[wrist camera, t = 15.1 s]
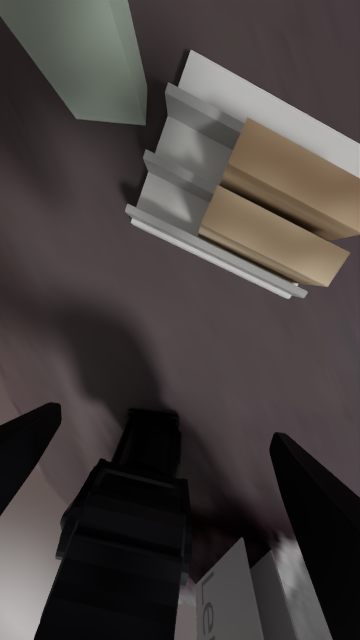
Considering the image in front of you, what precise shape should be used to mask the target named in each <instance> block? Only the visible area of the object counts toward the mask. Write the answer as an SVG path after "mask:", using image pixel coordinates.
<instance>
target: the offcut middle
mask: <svg viewBox="0 0 360 640" xmlns="http://www.w3.org/2000/svg"><path fill="white" fill-rule="evenodd" d="M219 186H221V187H223V188H225V189H227V190H229V191H231V192H233V193H235V194H237V195H238V196H240V197H242V198H244V199H246V200H248V201H250V202H252V203H254V204H256V205H258V206H260V207H262V208H264V209H266V210H268V211H270V212H272V213H274V214H276V215H277V216H279V217H281V218H283V219H285V220H287V221H289V222H291V223H293V224H295V225H297V226H299V227H301V228H303V229H305V230H307V231H309V232H311V233H313V234H314V235H316V236H318V237H320V238H322V239H324V240H326V241H332V240H336V239H341V238H346V237H350V236H355V235H360V178H358V177H356V176H355V175H353V174H351V173H349V172H347V171H345V170H344V169H342V168H340V167H338V166H336V165H334V164H333V163H331V162H329V161H327V160H325V159H323V158H322V157H320V156H318V155H316V154H314V153H312V152H311V151H309V150H307V149H305V148H303V147H301V146H300V145H298V144H296V143H294V142H292V141H290V140H289V139H287V138H285V137H283V136H281V135H279V134H278V133H276V132H274V131H272V130H270V129H268V128H267V127H265V126H263V125H261V124H259V123H257V122H256V121H254V120H252V119H250V118H247V120H246V122H245V124H244V127H243V129H242V131H241V133H240V136H239V138H238V140H237V142H236V145H235V147H234V149H233V152H232V154H231V156H230V158H229V161H228V163H227V166H226V168H225V171H224V174H223V177H222V180H221V182H220V185H219Z"/></svg>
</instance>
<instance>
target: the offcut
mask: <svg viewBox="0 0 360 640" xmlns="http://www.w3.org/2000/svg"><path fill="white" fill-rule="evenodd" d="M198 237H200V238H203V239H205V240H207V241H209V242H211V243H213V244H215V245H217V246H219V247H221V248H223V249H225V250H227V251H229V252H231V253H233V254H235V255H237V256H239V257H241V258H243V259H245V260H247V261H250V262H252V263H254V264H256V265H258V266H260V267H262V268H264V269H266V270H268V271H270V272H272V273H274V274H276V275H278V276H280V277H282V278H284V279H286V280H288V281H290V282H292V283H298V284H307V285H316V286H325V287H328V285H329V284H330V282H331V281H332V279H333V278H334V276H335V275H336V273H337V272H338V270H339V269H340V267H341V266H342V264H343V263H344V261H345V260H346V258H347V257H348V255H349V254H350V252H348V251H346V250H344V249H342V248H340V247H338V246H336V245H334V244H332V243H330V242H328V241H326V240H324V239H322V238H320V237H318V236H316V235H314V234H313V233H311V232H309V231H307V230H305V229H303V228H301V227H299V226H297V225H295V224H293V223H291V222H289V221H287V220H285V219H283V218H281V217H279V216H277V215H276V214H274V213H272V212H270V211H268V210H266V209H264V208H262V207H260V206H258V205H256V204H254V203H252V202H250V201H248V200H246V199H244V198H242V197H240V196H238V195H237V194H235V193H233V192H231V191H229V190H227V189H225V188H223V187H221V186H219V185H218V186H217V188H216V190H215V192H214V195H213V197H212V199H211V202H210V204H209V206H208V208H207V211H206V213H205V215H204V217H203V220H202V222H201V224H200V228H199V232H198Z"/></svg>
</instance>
